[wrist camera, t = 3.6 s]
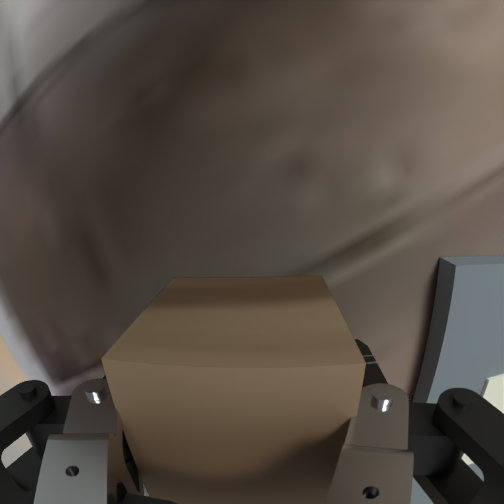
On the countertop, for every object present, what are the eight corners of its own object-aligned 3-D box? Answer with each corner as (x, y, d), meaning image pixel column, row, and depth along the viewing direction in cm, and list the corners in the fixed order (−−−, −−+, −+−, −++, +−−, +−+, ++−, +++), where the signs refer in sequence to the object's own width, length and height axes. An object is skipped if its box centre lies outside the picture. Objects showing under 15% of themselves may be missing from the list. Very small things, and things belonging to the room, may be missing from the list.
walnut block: (173, 277, 11) (100, 358, 6) (321, 276, 11) (365, 363, 5) (188, 395, 12) (151, 500, 7) (314, 395, 12) (333, 507, 6)
